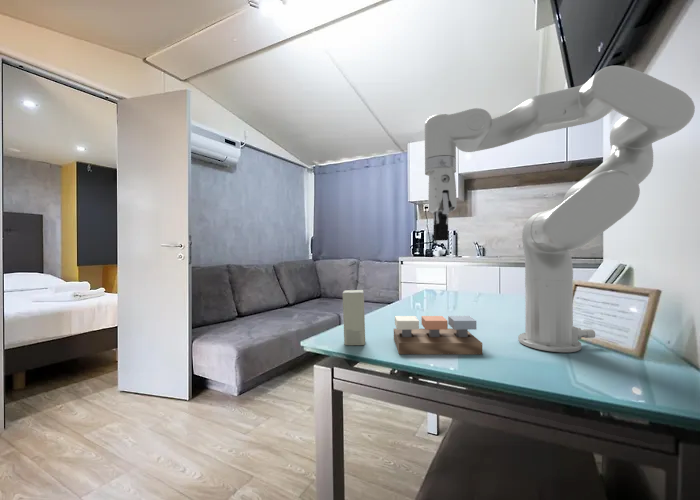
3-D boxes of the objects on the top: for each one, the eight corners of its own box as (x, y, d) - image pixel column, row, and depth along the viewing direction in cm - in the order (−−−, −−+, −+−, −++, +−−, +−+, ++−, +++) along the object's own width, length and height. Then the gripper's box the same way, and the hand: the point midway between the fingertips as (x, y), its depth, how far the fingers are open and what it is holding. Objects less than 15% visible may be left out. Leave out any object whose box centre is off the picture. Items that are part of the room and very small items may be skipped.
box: (365, 340, 79) (365, 289, 79) (364, 346, 75) (364, 292, 75) (344, 340, 80) (344, 289, 80) (342, 345, 76) (342, 292, 75)
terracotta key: (442, 334, 77) (442, 315, 77) (447, 340, 72) (447, 320, 72) (421, 334, 77) (421, 316, 77) (425, 340, 72) (425, 320, 72)
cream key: (415, 334, 77) (415, 316, 77) (419, 340, 72) (418, 320, 72) (395, 334, 78) (394, 316, 78) (397, 340, 73) (397, 320, 72)
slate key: (469, 334, 77) (469, 315, 77) (476, 340, 72) (476, 320, 72) (448, 334, 77) (448, 315, 77) (454, 340, 72) (454, 320, 72)
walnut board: (464, 338, 80) (464, 328, 80) (482, 354, 68) (482, 342, 68) (393, 338, 81) (393, 328, 81) (399, 354, 69) (398, 342, 69)
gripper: (465, 158, 71) (465, 239, 72) (447, 173, 86) (447, 240, 87) (431, 159, 72) (432, 240, 72) (419, 174, 87) (420, 241, 87)
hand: (440, 240), depth 79 cm, fingers closed
